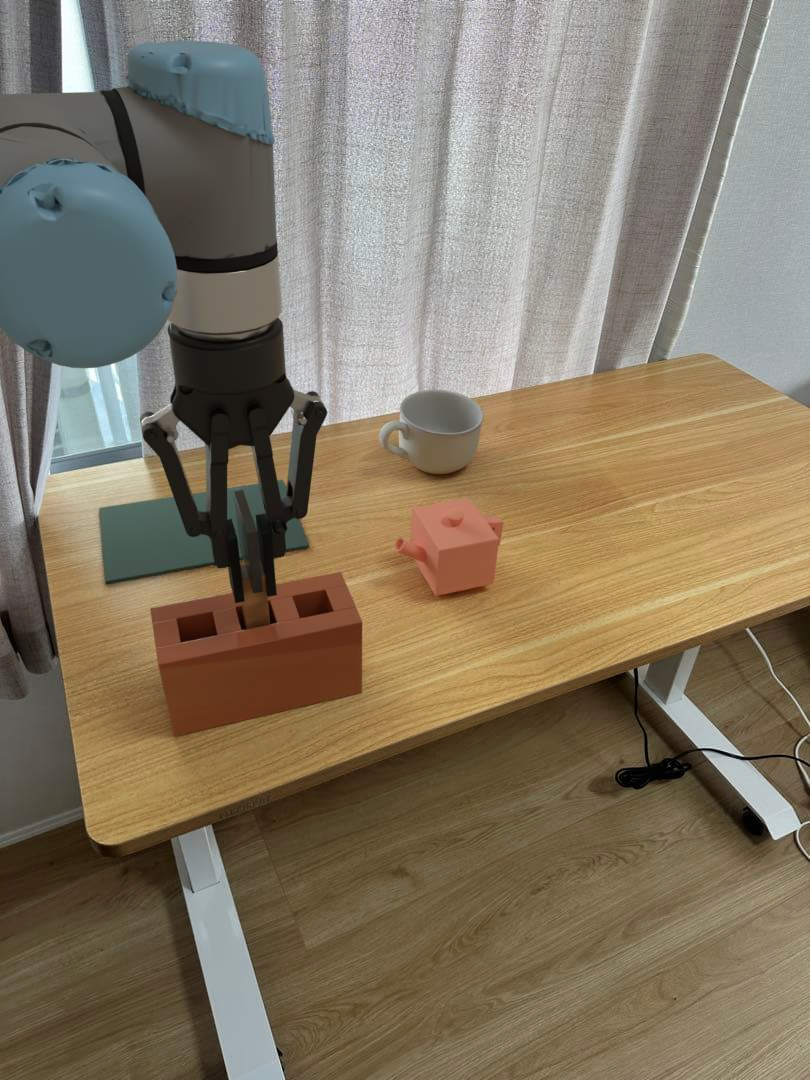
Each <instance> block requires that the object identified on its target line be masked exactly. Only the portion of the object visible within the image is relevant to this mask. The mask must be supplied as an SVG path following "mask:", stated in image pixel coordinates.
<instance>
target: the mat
mask: <svg viewBox="0 0 810 1080" xmlns="http://www.w3.org/2000/svg"><path fill="white" fill-rule="evenodd" d="M277 481H278V486H279V492H280V497H281V499H282V498H284V497H286V488H287V486H286V484H285V482H284V480H283V479H277ZM241 489H243V490H244V494H245V497H246V500H247V503H248V506H249V509H250V512H251V515H252V518H253V521H254V524H255V527H256V530H257V525H256V515H258V514H264V513H265V509H264V505H263V500H262V496H261V491H260V486H259V482H258V483H251V484H245V485H240V486H232V487H227V520H228V519H232V522H233V525H234V529H235V532H236V535H237V539H238V548H239V556H240V561H243V558H242V554H241V551H240V545H239V536H238V528H237V519H236V510H235V502H234V493H233V491H234V490H241ZM192 495H193V498H194V501H195V504H196V507H197V510H198V511H204V512H205V511H207V503H206V491H200V492H194V493H193V492H192ZM98 510H99V521H100V522H99V523H100V533H101V535H100V536H101V544H102V545H101V547H102V548H101V549H102V559H103V568H104V569H103V571H104V583H105V585H108V584H115V583H120V582H126V581H131V580H137V579H142V578H148V577H154V576H159V575H165V574H171V573H176V572H181V571H187V570H192V569H199V568H205V567H210V566H216V565H215V563H214V559H213V555H212V548H211V541H210V537H209V536H207V535H202V534H200V535H199V536H197V537H190V536H188V535H187V533H186V530H185V528H184V525H183V522H182V519H181V516H180V513H179V511H178V508H177V505H176V502H175V499H174V497H173V496H167V497H161V498H155V499H149V500H141V501H135V502H129V503H122V504H116V505H108V506H102V507H98ZM265 515H266V514H265ZM286 525H287V531H286V532H285V540H286V541H285V542H286V553H287V552H293V551H299V550H305V549H309V548H310V543H309V541H308V538H307V536H306V533H305V531H304V529H303V526H302V524H301V521H300V519H296V518H293V519H291V520H289V521H288V522H287V523H286Z"/></svg>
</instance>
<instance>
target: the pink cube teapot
mask: <svg viewBox="0 0 810 1080" xmlns="http://www.w3.org/2000/svg"><path fill="white" fill-rule="evenodd" d="M504 523H505V522H504V521H503V519H502V518H501V517H500V516H499V515H482V513H481V512H480V510H479V509H478V508H477V506H476V505H475V504H474V503H473V500H471V499H470V497H465V498H460V499H459V498H458V499H453V500H447V501H441V502H437V503H430V504H426V505H425V504H424V505H420V506H414V507H412V508H411V519H410V535H409V536H410V537H409V538H410V539H409V540H410V541H409V540H407V539H405V538H402V537H399V538H398V539H397V540H396V541H395V543H394V545H393V550H394V552H396V553H398V554H401V555H403V556H405V557H409V558H412V559H413V560H414V562H415V563H416V565H417V567H418V568H419V571H420V572H421V574H422V576H423V577H424V579H425V582H426V583H427V584H428V586H429V588H430V589H431V592H432V593H433V595H434V596H435V597H439V596H442V595H443V596H444V595H447V594H451V593H455V592H461V591H466V590H470V589H474V588H479V587H483V586H489V585H493V584H494V582H495V574H496V566H497V559H498V551H499V547H500V545H501V540H502V533H503V529H504Z"/></svg>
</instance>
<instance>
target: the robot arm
mask: <svg viewBox="0 0 810 1080" xmlns="http://www.w3.org/2000/svg"><path fill="white" fill-rule="evenodd" d="M126 65H127V66H126V67H127V68H126V69H127V75H126V77H125V85H126V86H121V87H120V86H119V87H113V88H112V89H111V90H107V89H106V90H100V91H82V92H81V91H79V92H77V91H75V92H42V93H41V92H39V93H38V92H35V93H0V330H1V332H2V333H4V334H5V335H6V336H7V338H8V339H9V340H11V341H12V342H13V343H15V344H16V345H17V346H19V347H20V348H22V349H23V350H24V351H25V352H28V354H30V355H33V356H35V357H37V358H39V359H42V360H43V361H46V362H48V363H52V364H54V365H57V366H59V367H60V366H62V367H65V368H72V369H97V368H102V367H106V366H107V367H108V366H111V365H115V364H116V363H121V362H123V361H125V360H127V359H128V358H132V357H133V356H134V355H136V354H138V353H139V352H141V351H143V350H144V349H145V348H146V347H147V346H148V345H150V344H151V343H152V342H153V341H154V340H155V338H157V336H158V335H159V334H160V333H161V331H162V330H163V328H164V327H165V325H166V323H167V321H168V322H169V324H168V326H167V336H168V343H169V350H170V355H171V356H170V358H171V364H172V371H173V376H174V387H173V389H172V391H171V394H170V398H169V399H170V400H169V402H170V404H168V405H167V406H165V407H163V408H162V409H160V410H158V411H157V412H152V411H145V412H143V413H142V414H141V415H140V417H139V423H140V428H141V433H142V439H143V441H144V442H145V443H146V445H148V447H150V449H151V450H152V451H153V452H154V454H156V456H157V457H158V458H159V459H160V462H161V464H162V468H163V471H164V474H165V476H166V479H167V482H168V485H169V488H170V490H171V493H172V497H174V499H175V502H176V505H177V508H178V511H179V513H180V516H181V519H182V522H183V525H184V528H185V530H186V533H187V535H188V536H190V537H197V536H199V535H200V534H202V535H207V536H209V537H210V541H211V548H212V555H213V559H214V563H215V565H214V566H215V567H216V568H217V570H220V569H226V568H227V571H228V579H229V584H230V588H231V591H232V592H233V596H234V600H235V603H239V602H245V600H244V592H243V583H242V574H241V565H240V564H241V560H240V556H239V548H238V539H237V535H236V532H235V529H234V525H233V522H232V519H228V520H227V488H228V464H229V450H232V449H234V448H236V447H239V446H245V447H250V448H251V452H252V458H253V462H254V467H255V472H256V477H257V481H258V483H259V486H260V491H261V496H262V500H263V505H264V509H265V513H264V514H258V515H256V525H257V535H258V545H259V555H260V561H261V564H262V567H263V570H264V573H265V578H266V589H267V596H268V597H270V596H275V595H277V591H276V584H277V582H276V580H277V579H276V569H275V559H280V558H284V557H286V553H287V552H286V542H285V541H286V540H285V532H286V531H287V525H286V523H287V522H288V521H289V520H291V519H293V518H296V519H299V520H302V519H304V518H305V517H307V515H308V511H309V501H310V495H311V487H312V485H311V484H312V477H313V476H312V475H313V468H314V462H315V460H314V459H315V454H316V452H315V451H316V443H317V437H318V434H319V431H320V430H321V428H322V426H323V424H324V422H325V420H326V418H327V416H328V409H327V407H326V406H325V404H324V402H323V400H322V399H321V397H320V395H319V393H318V392H317V391H314V390H311V391H307V392H306V393H304V392H301V391H299V390H295V389H294V388H293V386H292V384H291V382H290V380H289V379H288V377H287V371H286V370H287V369H286V356H285V355H286V354H285V353H286V352H285V339H284V325H283V322H282V320H281V319H280V318H279V317H280V316H281V314H282V312H283V304H282V303H283V302H282V301H283V300H282V289H281V288H282V287H281V273H280V260H279V250H278V238H277V217H276V215H277V214H276V191H275V166H274V164H275V163H274V145H275V135H274V134H273V125H272V115H271V107H270V99H269V98H270V97H269V91H268V86H267V79H266V72H265V69H264V65H263V64H262V62H261V60H260V59H259V58H258V57H257V55H256V54H255V53H254V52H253V51H251V50H249V49H248V48H246V47H243V46H240V45H237V44H233V43H226V42H218V41H205V40H166V41H163V42H162V41H161V42H146V43H140V44H138V45H135V46H134V47H132V48H131V49H130V50H129V52H128V53H127V58H126ZM289 409H290V415H291V417H292V419H293V422H292V429H291V438H290V439H291V440H290V450H289V460H288V467H287V468H288V469H287V480H286V497H284V498H282V499H281V497H280V492H279V486H278V481H277V480H278V477H277V472H276V467H275V462H274V452H273V446H272V442H271V435H272V434H273V433H274V431H275V430H276V428H277V427H278V425H279V424H280V422H281V420H282V419H283V417H284V416H285V414H286V413H287V411H288V410H289ZM179 422H181V424H183V425H184V426H185V427H186V428H187V429H189V430H190V431H191V432H192V433H193V434H194V435H195V436H197V438H198V439H200V440H201V441H202V442H203V443H204V446H205V447H204V448H205V486H206V487H205V492H206V503H207V511H205V512H204V511H198V510H197V507H196V504H195V501H194V498H193V495H192V494H193V492H192V489H191V486H190V483H189V479H188V477H187V474H186V470H185V468H184V465H183V462H182V459H181V456H180V453H179V450H178V447H177V444H176V440H177V439H178V438H179V430H178V426H177V425H178V423H179ZM265 514H266V515H265ZM232 592H231V593H232Z"/></svg>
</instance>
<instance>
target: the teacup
mask: <svg viewBox="0 0 810 1080" xmlns="http://www.w3.org/2000/svg"><path fill="white" fill-rule="evenodd" d="M398 410H399V420H391V421H388V422H387V423H385V424H384V425H383V426H382V428H381V429H380V432H379V435H378V440H379V444H380V446H381V447H382V448H383V449H384V450H385V451H387V453H390V454H392V455H394V456H398V458H399V459H401V461H407V462H408V463H410V464H411V465H412V466H414V467H415V469H418V470H420V471H421V472H424V473H426V474H430V475H446V474H451V473H455V472H456V471H459V470H461V469H463V468H465V467H466V466H468V465H469V464H470V463H471V462H472V460H473V459H474V458H475V455H476V453H477V450H478V446H479V443H480V437H481V431H482V430H481V429H482V424H483V422H484V420H485V415H484V411H483V408H482V407H481V406H480V405H479V403H478V402H476V401H475V400H474V399H472V398H471V397H469V396H467V395H465V394H462V393H458V392H455V391H451V390H444V389H426V390H420V391H416V392H414V393H411V394H409V395H406V397H404V398H403V399H402V400H401V402H400V404H399V409H398ZM395 431H398V446H395V445H392V444H391V443H390V441H389V439H390V436H391V435H392V434H393V432H395Z"/></svg>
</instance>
